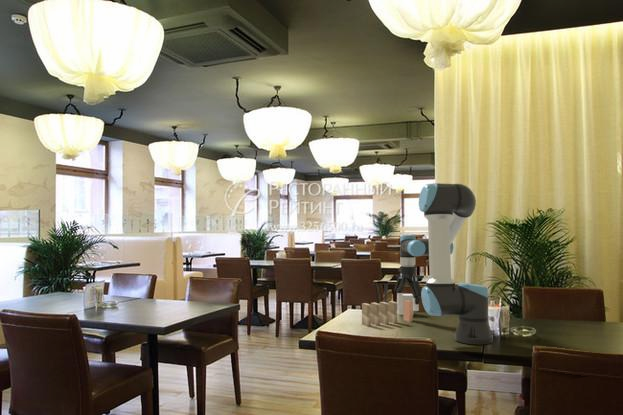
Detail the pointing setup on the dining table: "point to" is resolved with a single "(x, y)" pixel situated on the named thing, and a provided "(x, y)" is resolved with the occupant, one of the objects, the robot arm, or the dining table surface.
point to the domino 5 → (408, 310)
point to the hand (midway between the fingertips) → (407, 308)
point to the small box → (405, 297)
